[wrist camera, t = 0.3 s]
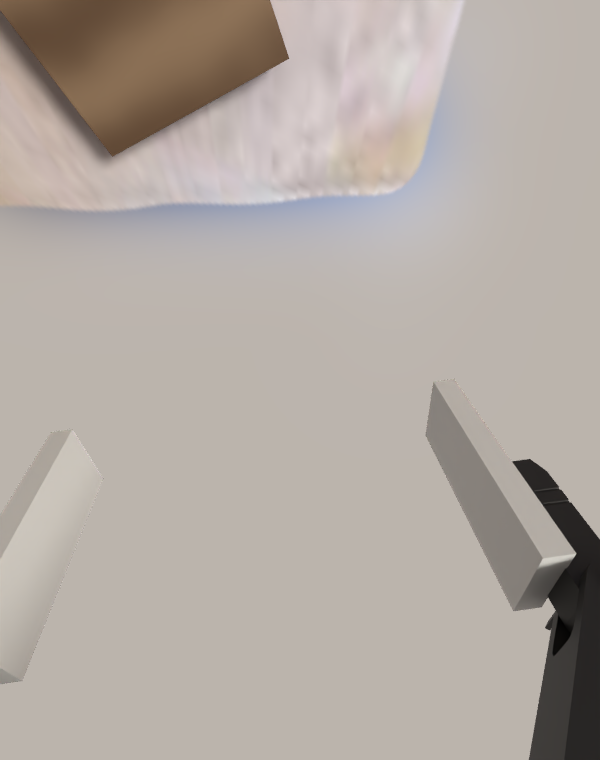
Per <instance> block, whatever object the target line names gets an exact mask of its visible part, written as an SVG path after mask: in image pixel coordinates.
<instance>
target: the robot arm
mask: <svg viewBox="0 0 600 760" xmlns="http://www.w3.org/2000/svg"><path fill="white" fill-rule="evenodd" d="M426 437H427V439H428V441H429V443H430V445H431V447H432V449H433V451H434V453H435V455H436V457H437V459H438V461H439V463H440V465H441V467H442V469H443V471H444V473H445V475H446V477H447V479H448V481H449V483H450V485H451V487H452V489H453V491H454V493H455V495H456V497H457V499H458V501H459V503H460V505H461V507H462V509H463V511H464V513H465V515H466V517H467V519H468V521H469V523H470V525H471V527H472V529H473V531H474V533H475V535H476V537H477V539H478V541H479V543H480V545H481V547H482V549H483V551H484V553H485V555H486V557H487V559H488V561H489V563H490V565H491V567H492V569H493V571H494V573H495V575H496V577H497V579H498V581H499V583H500V585H501V587H502V589H503V591H504V593H505V595H506V597H507V599H508V601H509V603H510V605H511V607H512V609H513V611H518V610H524V609H532V608H539V607H542V605H543V604H544V602H545V601H546V599H547V598H549V599H550V601H551V603H552V605H553V606H554V608H555V610H556V611H555V613H554V614H553V615H552V617H551V618H550V620H549V621H548V623H547V625H546V627H545V628H546V629H548V630H551V635H550V641H549V647H548V652H547V658H546V664H545V669H544V675H543V681H542V687H541V693H540V698H539V704H538V710H537V716H536V722H535V728H534V734H533V739H532V745H531V751H530V757H529V760H600V539H599V538H598V537H597V535H596V534H595V533H594V532H593V530H592V529H591V528H590V526H589V525H588V524H587V522H586V521H585V520H584V519H583V517H582V516H581V515H580V513H579V512H578V511H577V510H576V508H575V507H574V506H573V504H572V503H570V502H569V501H568V498H567V497H566V495H565V494H564V493H563V492H562V490H560V489H559V486H558V485H557V484H556V482H555V481H554V480H553V479H552V477H551V476H550V475H549V474H548V472H547V471H545V470H544V469H543V468H542V467H540V466H539V465H537V464H536V463H534V462H533V461H532V460H531V459H527V460H520V461H513V462H512V461H511V459H510V458H509V457H508V455H507V454H506V452H505V451H504V449H503V448H502V447H501V445H500V444H499V442H498V441H497V439H496V438H495V437H494V435H493V434H492V432H491V431H490V429H489V428H488V427H487V425H486V424H485V422H484V421H483V419H482V418H481V417H480V415H479V414H478V412H477V411H476V409H475V408H474V407H473V405H472V404H471V402H470V401H469V399H468V398H467V397H466V395H465V394H464V393H463V391H462V389H461V388H460V387H459V385H458V384H457V382H456V381H455V379H450V380H443V381H435V382H433V388H432V395H431V402H430V409H429V416H428V422H427V430H426ZM102 481H103V477H102V475H101V474H100V472H99V471H98V469H97V468H96V466H95V464H94V463H93V461H92V460H91V458H90V457H89V455H88V453H87V452H86V450H85V449H84V447H83V445H82V444H81V442H80V441H79V439H78V438H77V436H76V435H75V433H74V431H73V430H64V431H57V432H51V433H50V435H49V436H48V438H47V439H46V441H45V443H44V444H43V446H42V448H41V449H40V451H39V453H38V454H37V456H36V458H35V459H34V461H33V462H32V464H31V466H30V467H29V469H28V470H27V472H26V474H25V475H24V477H23V479H22V480H21V482H20V483H19V485H18V487H17V488H16V490H15V492H14V493H13V495H12V496H11V498H10V500H9V502H8V503H7V505H6V506H5V508H4V510H3V511H2V513H1V515H0V684H4V683H11V682H18V681H22V680H23V677H24V675H25V673H26V670H27V668H28V665H29V662H30V660H31V658H32V655H33V653H34V650H35V648H36V645H37V642H38V640H39V638H40V635H41V633H42V630H43V628H44V625H45V623H46V620H47V618H48V615H49V613H50V610H51V608H52V605H53V603H54V600H55V598H56V595H57V593H58V591H59V588H60V586H61V583H62V580H63V578H64V575H65V573H66V571H67V568H68V566H69V563H70V561H71V558H72V555H73V553H74V551H75V548H76V546H77V543H78V541H79V538H80V536H81V533H82V531H83V528H84V526H85V523H86V521H87V518H88V516H89V513H90V511H91V508H92V505H93V503H94V501H95V498H96V496H97V493H98V491H99V488H100V486H101V483H102ZM551 628H552V629H551Z"/></svg>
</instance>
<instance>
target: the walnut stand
mask: <svg viewBox="0 0 600 760" xmlns="http://www.w3.org/2000/svg"><path fill="white" fill-rule="evenodd" d="M0 11H1V12H2V13H3V15H4V16H5V17H6V19H7V20H8V21H9V22H10V24H11V25H12V26H13V28H14V29H15V30H16V32H17V33H18V34H19V35H20V37H21V38H22V39H23V41H24V42H25V43H26V45H27V46H28V47H29V49H30V50H31V51H32V52H33V54H34V55H35V56H36V58H37V59H38V60H39V62H40V63H41V64H42V65H43V67H44V68H45V69H46V71H47V72H48V73H49V75H50V76H51V77H52V78H53V80H54V81H55V82H56V84H57V85H58V86H59V88H60V89H61V90H62V91H63V93H64V94H65V95H66V97H67V98H68V99H69V101H70V102H71V103H72V105H73V106H74V107H75V108H76V110H77V111H78V112H79V114H80V115H81V116H82V118H83V119H84V120H85V121H86V123H87V124H88V125H89V127H90V128H91V129H92V131H93V132H94V133H95V134H96V136H97V137H98V138H99V140H100V141H101V142H102V144H103V145H104V146H105V148H106V149H107V150H108V151H109V153H110V154H111V155H112V157H113V156H114V155H116V154H118V153H120V152H122V151H123V150H125V149H127V148H129V147H131V146H132V145H134V144H136V143H138V142H140V141H141V140H143V139H145V138H147V137H149V136H150V135H152V134H154V133H156V132H158V131H159V130H161V129H163V128H165V127H167V126H168V125H170V124H172V123H174V122H176V121H177V120H179V119H181V118H183V117H185V116H186V115H188V114H190V113H192V112H194V111H195V110H197V109H199V108H201V107H203V106H204V105H206V104H208V103H210V102H212V101H213V100H215V99H217V98H219V97H221V96H222V95H224V94H226V93H228V92H230V91H231V90H233V89H235V88H237V87H239V86H240V85H242V84H244V83H246V82H248V81H249V80H251V79H253V78H255V77H257V76H258V75H260V74H262V73H264V72H266V71H267V70H269V69H271V68H273V67H275V66H276V65H278V64H280V63H282V62H284V61H285V60H287V59H289V57H288V54H287V51H286V48H285V44H284V41H283V38H282V35H281V32H280V29H279V26H278V23H277V20H276V17H275V14H274V11H273V8H272V5H271V2H270V0H0Z"/></svg>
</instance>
